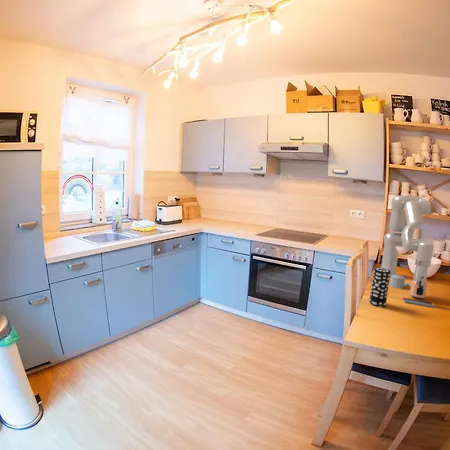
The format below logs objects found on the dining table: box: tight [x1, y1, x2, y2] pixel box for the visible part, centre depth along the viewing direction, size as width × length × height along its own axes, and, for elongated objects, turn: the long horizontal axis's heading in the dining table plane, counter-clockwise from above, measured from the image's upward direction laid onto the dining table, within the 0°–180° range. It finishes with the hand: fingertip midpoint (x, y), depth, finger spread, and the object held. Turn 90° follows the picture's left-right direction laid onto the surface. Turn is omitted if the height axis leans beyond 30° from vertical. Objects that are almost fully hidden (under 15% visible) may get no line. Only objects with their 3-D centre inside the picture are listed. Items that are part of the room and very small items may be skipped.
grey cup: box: [389, 274, 406, 289], centre depth 207 cm, size 8×8×8 cm
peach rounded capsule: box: [409, 279, 428, 299], centre depth 188 cm, size 8×8×8 cm
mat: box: [402, 297, 434, 309], centre depth 189 cm, size 14×16×1 cm
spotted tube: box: [368, 267, 391, 308], centre depth 179 cm, size 8×8×20 cm
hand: (418, 292), depth 188 cm, fingers closed on peach rounded capsule, 7 cm apart
